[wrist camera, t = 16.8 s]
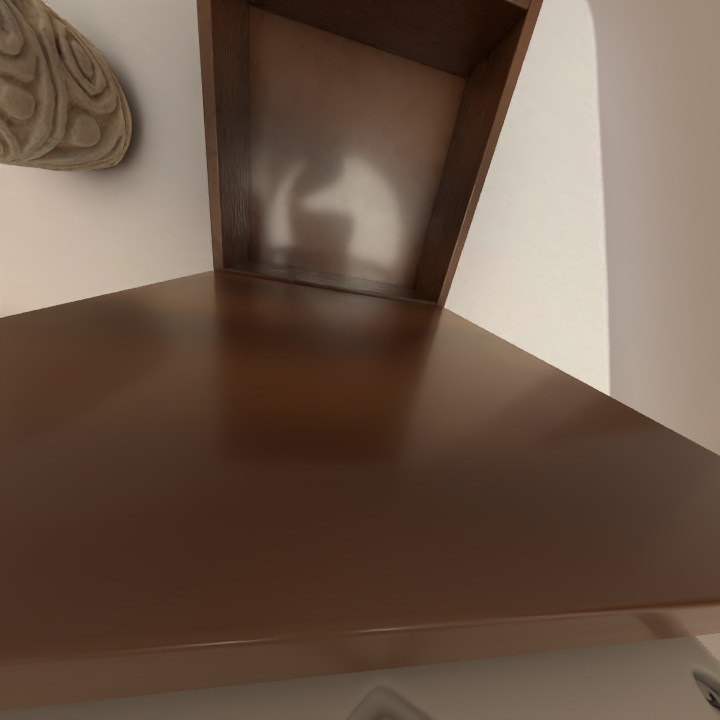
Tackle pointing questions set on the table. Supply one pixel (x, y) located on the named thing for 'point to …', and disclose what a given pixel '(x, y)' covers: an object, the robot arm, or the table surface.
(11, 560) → the chest lid
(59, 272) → the table surface
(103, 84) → the carving
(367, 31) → the chest
